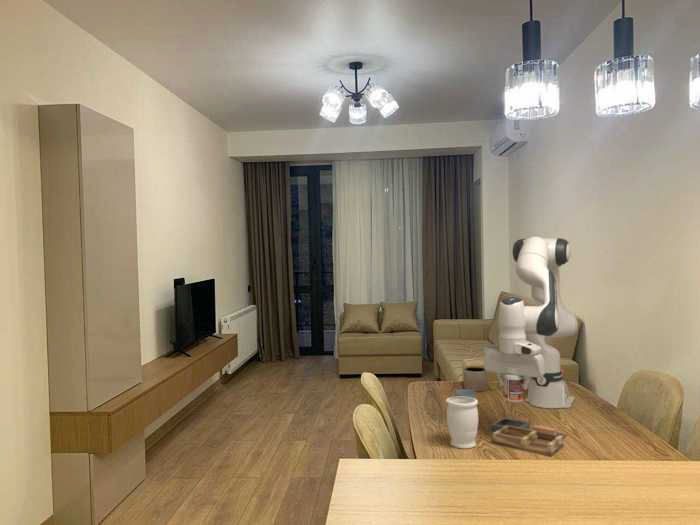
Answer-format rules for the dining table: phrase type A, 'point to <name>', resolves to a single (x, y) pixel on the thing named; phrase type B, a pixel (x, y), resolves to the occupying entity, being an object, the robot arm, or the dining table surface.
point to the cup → (465, 393)
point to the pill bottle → (513, 386)
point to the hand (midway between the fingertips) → (513, 387)
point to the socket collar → (502, 421)
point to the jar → (462, 421)
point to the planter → (475, 379)
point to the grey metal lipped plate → (549, 436)
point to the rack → (526, 440)
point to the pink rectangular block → (545, 430)
